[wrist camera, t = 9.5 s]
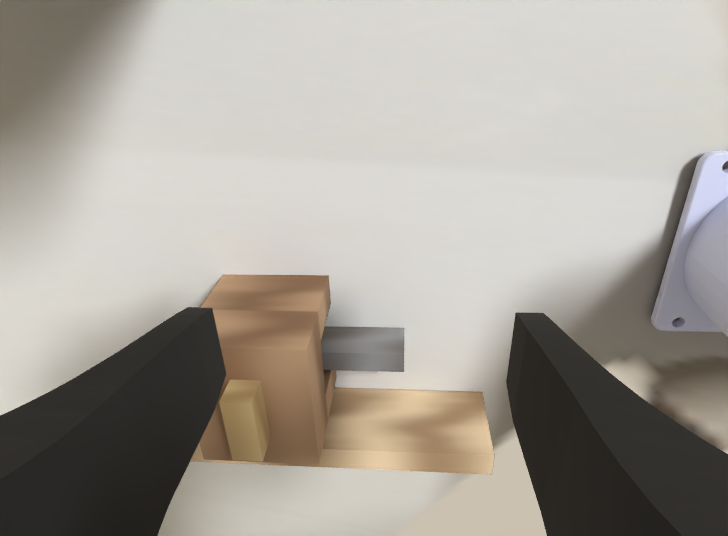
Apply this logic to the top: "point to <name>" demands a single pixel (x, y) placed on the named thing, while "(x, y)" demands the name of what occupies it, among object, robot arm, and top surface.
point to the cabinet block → (270, 369)
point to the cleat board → (395, 415)
